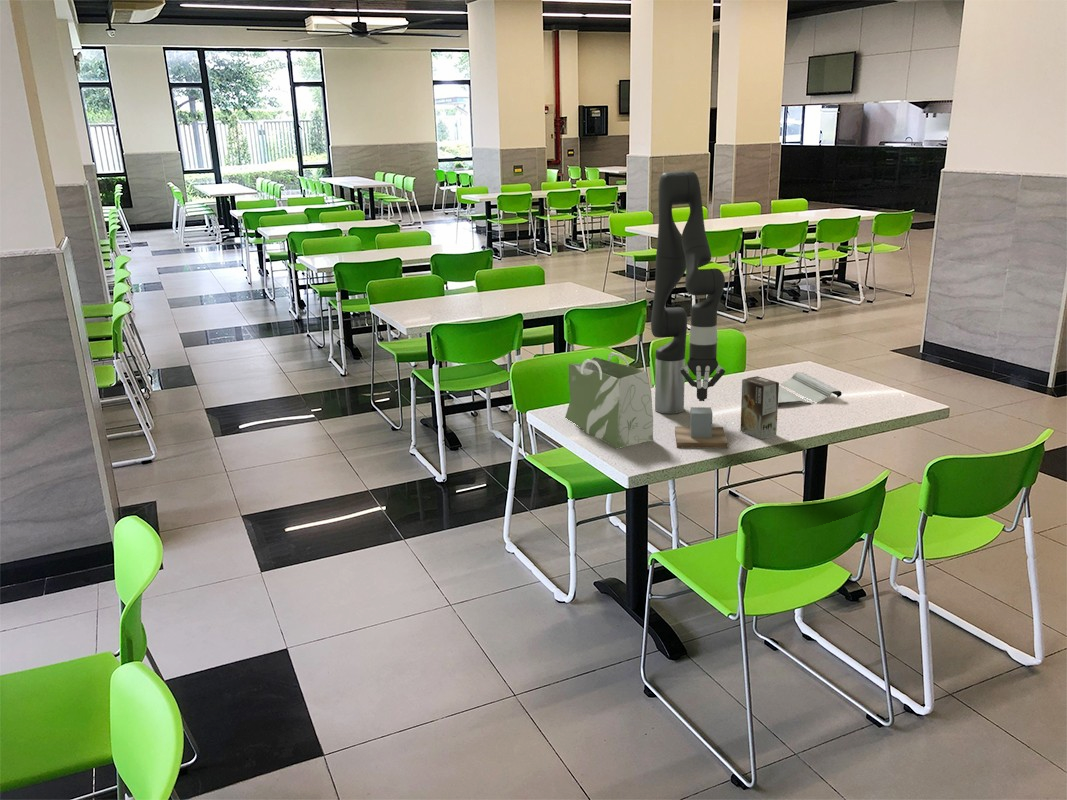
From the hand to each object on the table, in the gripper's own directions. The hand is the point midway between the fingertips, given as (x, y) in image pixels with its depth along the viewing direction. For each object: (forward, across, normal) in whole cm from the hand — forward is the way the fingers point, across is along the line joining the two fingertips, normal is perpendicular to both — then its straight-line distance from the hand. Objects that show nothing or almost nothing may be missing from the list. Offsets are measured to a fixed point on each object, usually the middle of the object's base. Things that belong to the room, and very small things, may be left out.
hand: (701, 400), depth 233 cm
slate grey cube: (+10, 0, 0) cm, 10 cm away
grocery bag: (+12, +27, -8) cm, 31 cm away
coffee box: (+12, -17, -6) cm, 22 cm away
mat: (+12, -33, -46) cm, 58 cm away
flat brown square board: (+12, 0, 0) cm, 12 cm away
